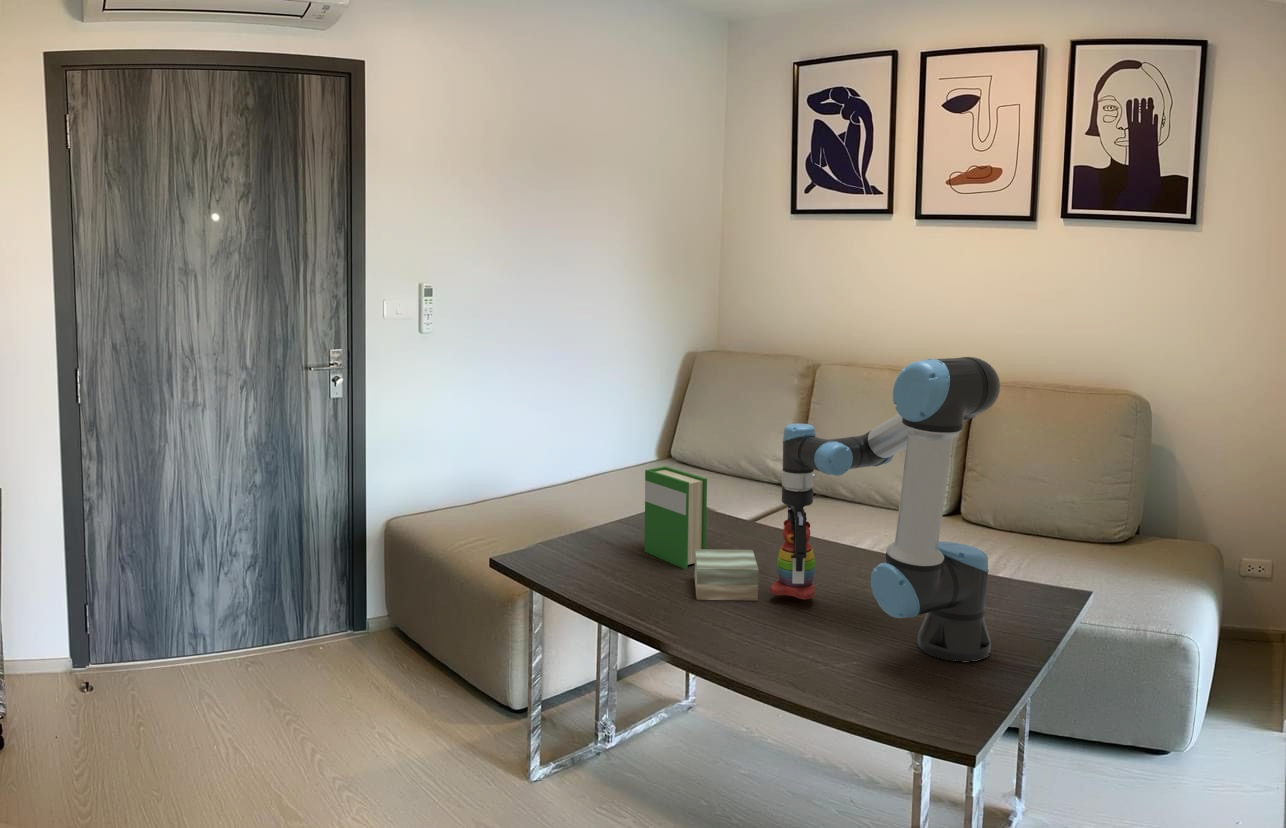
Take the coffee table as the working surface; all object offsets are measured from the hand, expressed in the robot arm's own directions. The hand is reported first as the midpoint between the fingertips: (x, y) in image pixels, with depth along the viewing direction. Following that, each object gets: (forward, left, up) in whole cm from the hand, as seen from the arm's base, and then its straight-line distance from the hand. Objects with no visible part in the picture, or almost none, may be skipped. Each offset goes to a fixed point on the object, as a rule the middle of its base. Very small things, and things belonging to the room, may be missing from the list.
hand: (795, 576), depth 233 cm
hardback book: (+30, +29, -6) cm, 43 cm away
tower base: (+6, +17, -6) cm, 19 cm away
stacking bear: (0, 0, -4) cm, 4 cm away
